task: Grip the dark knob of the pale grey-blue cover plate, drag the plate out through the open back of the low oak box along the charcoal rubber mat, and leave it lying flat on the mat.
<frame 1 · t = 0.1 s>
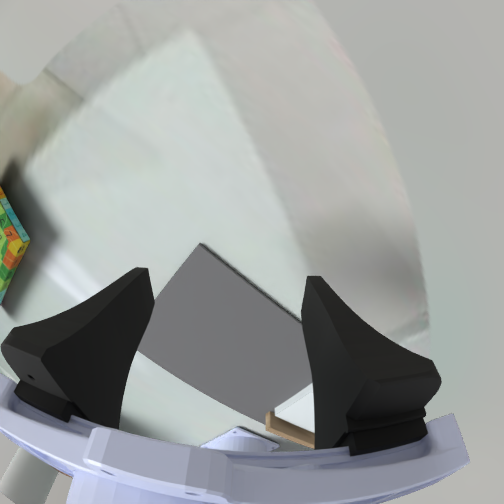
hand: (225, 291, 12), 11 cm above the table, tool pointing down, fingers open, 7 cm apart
cylinder vase: (47, 443, 43), on the table
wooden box: (326, 400, 29), resting on rubber mat
cover plate: (327, 403, 28), resting on rubber mat
rubber mat: (272, 377, 27), on the table
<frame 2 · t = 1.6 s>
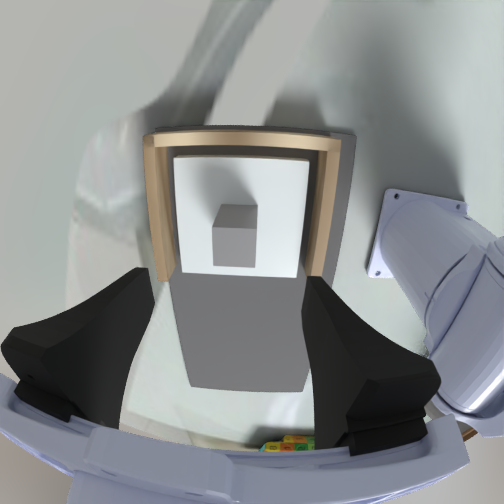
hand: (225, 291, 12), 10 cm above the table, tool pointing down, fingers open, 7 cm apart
coffee pot: (425, 386, 33), on the table
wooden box: (240, 213, 21), resting on rubber mat
cover plate: (240, 215, 20), resting on rubber mat
puzzle game: (306, 442, 42), on the table
rubber mat: (249, 300, 24), on the table
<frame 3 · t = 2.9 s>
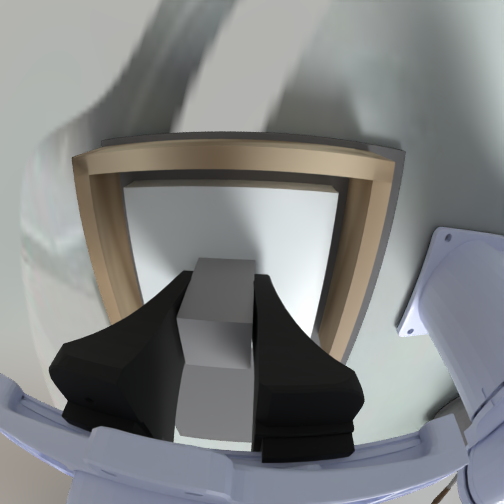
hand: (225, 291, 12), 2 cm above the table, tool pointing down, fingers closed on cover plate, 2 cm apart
coffee pot: (438, 421, 27), on the table
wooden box: (230, 264, 14), resting on rubber mat
cover plate: (229, 268, 14), resting on rubber mat, touching gripper
rubber mat: (245, 364, 18), on the table
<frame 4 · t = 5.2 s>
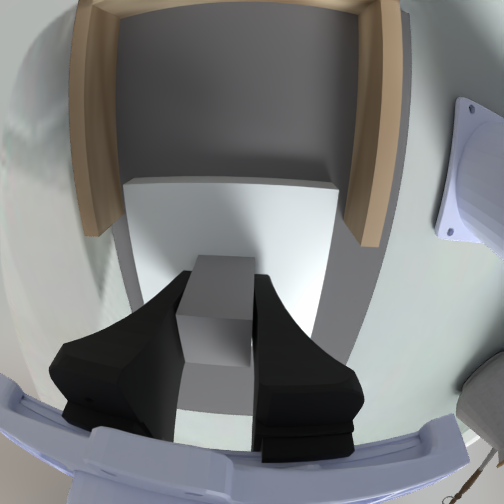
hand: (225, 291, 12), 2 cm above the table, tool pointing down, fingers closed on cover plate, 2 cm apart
coffee pot: (465, 394, 23), on the table
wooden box: (231, 114, 11), resting on rubber mat
cover plate: (229, 265, 14), resting on rubber mat, touching gripper
rubber mat: (247, 278, 14), on the table
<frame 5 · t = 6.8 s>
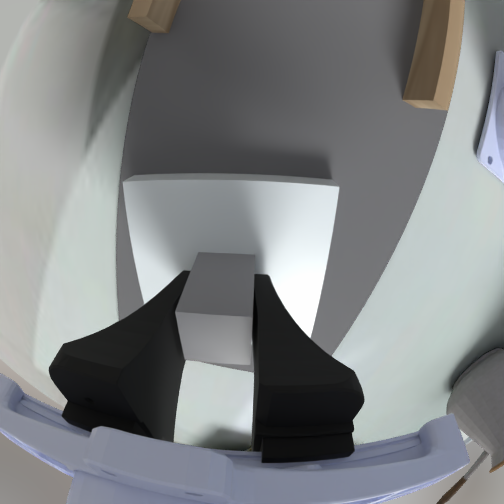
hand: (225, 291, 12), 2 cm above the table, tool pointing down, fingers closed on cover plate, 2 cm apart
coffee pot: (452, 395, 23), on the table
cover plate: (229, 263, 14), resting on rubber mat, touching gripper
rubber mat: (287, 138, 11), on the table
when the fingers open (2 cm above the table, at t = 7.5 s): cover plate stays where it is, resting on rubber mat.
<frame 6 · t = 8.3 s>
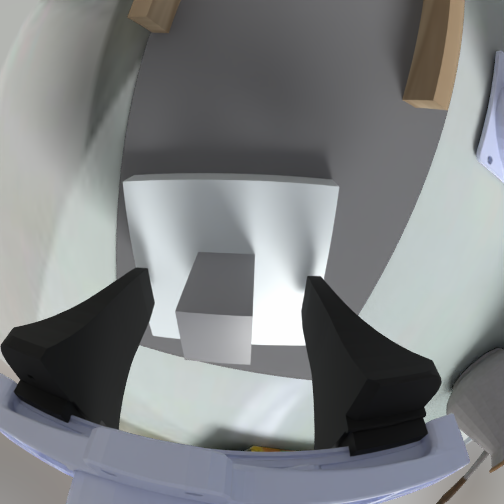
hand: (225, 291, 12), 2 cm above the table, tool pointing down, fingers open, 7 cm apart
coffee pot: (452, 395, 23), on the table
cover plate: (229, 263, 14), resting on rubber mat
rubber mat: (287, 137, 11), on the table
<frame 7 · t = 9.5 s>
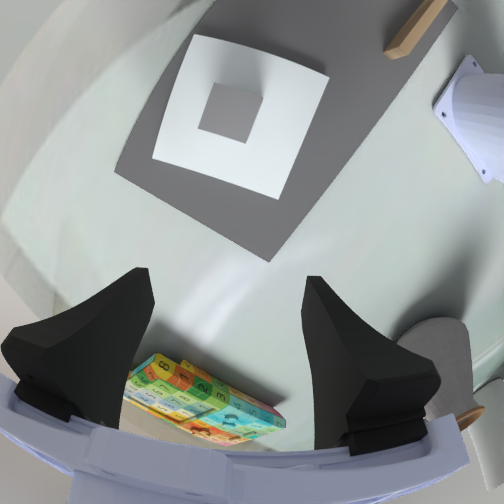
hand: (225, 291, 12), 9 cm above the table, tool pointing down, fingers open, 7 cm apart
cylinder vase: (481, 393, 38), on the table
coffee pot: (390, 364, 29), on the table
cover plate: (238, 113, 16), resting on rubber mat
puzzle game: (202, 391, 33), on the table
rubber mat: (303, 49, 14), on the table
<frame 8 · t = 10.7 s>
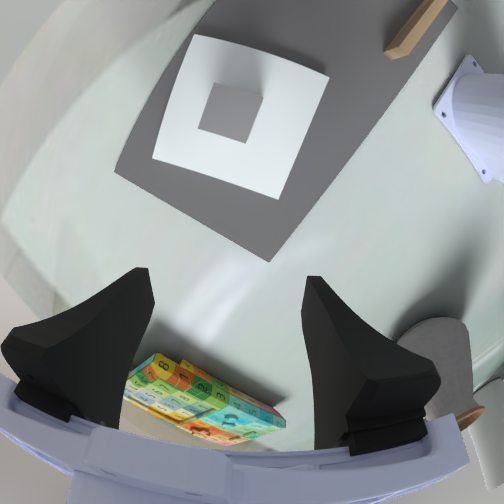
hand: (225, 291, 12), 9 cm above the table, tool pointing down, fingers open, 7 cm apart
cylinder vase: (481, 393, 38), on the table
coffee pot: (390, 364, 29), on the table
cover plate: (238, 113, 16), resting on rubber mat
puzzle game: (202, 391, 33), on the table
rubber mat: (303, 49, 14), on the table
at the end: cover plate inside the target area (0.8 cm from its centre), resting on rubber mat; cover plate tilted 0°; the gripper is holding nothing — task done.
